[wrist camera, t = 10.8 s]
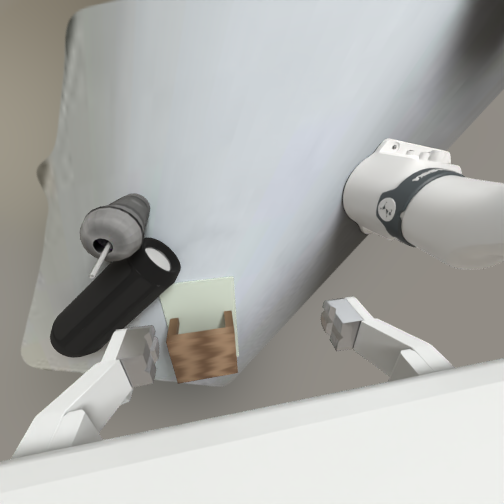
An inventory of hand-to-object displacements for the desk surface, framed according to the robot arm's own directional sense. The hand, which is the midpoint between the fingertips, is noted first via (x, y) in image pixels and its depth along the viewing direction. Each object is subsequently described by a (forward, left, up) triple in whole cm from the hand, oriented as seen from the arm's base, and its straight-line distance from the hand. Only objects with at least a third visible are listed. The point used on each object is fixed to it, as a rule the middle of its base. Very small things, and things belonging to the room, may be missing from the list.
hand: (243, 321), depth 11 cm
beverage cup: (+14, +4, -34) cm, 37 cm away
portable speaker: (+20, +20, -34) cm, 45 cm away
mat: (+6, +34, -34) cm, 48 cm away
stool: (+6, +30, -30) cm, 43 cm away
